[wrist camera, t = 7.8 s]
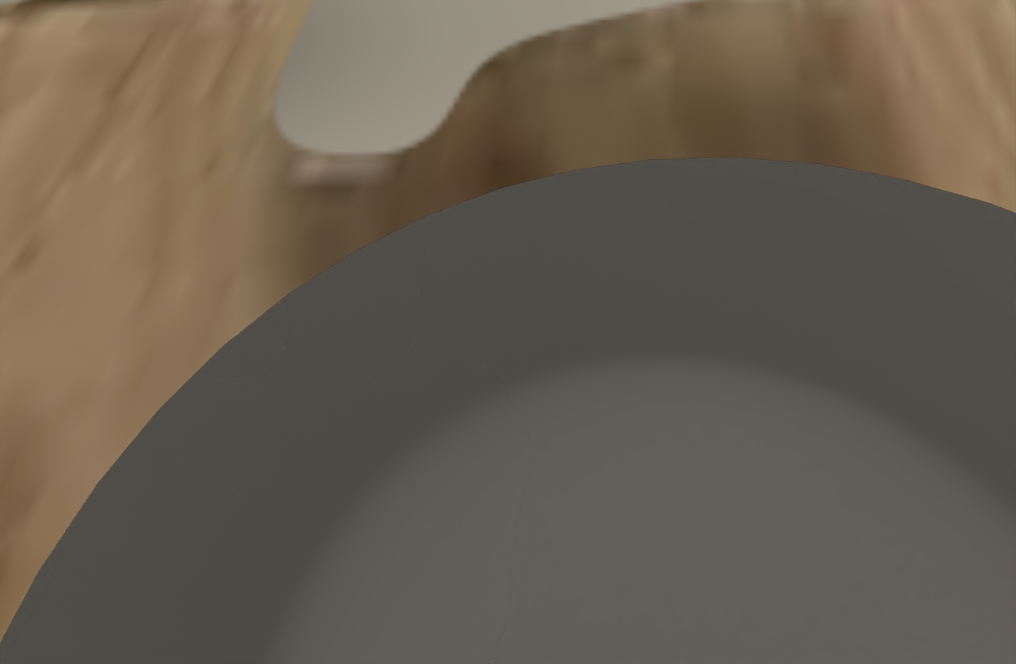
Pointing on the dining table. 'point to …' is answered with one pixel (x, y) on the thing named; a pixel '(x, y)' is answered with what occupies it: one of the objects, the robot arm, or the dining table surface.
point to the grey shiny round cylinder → (585, 442)
